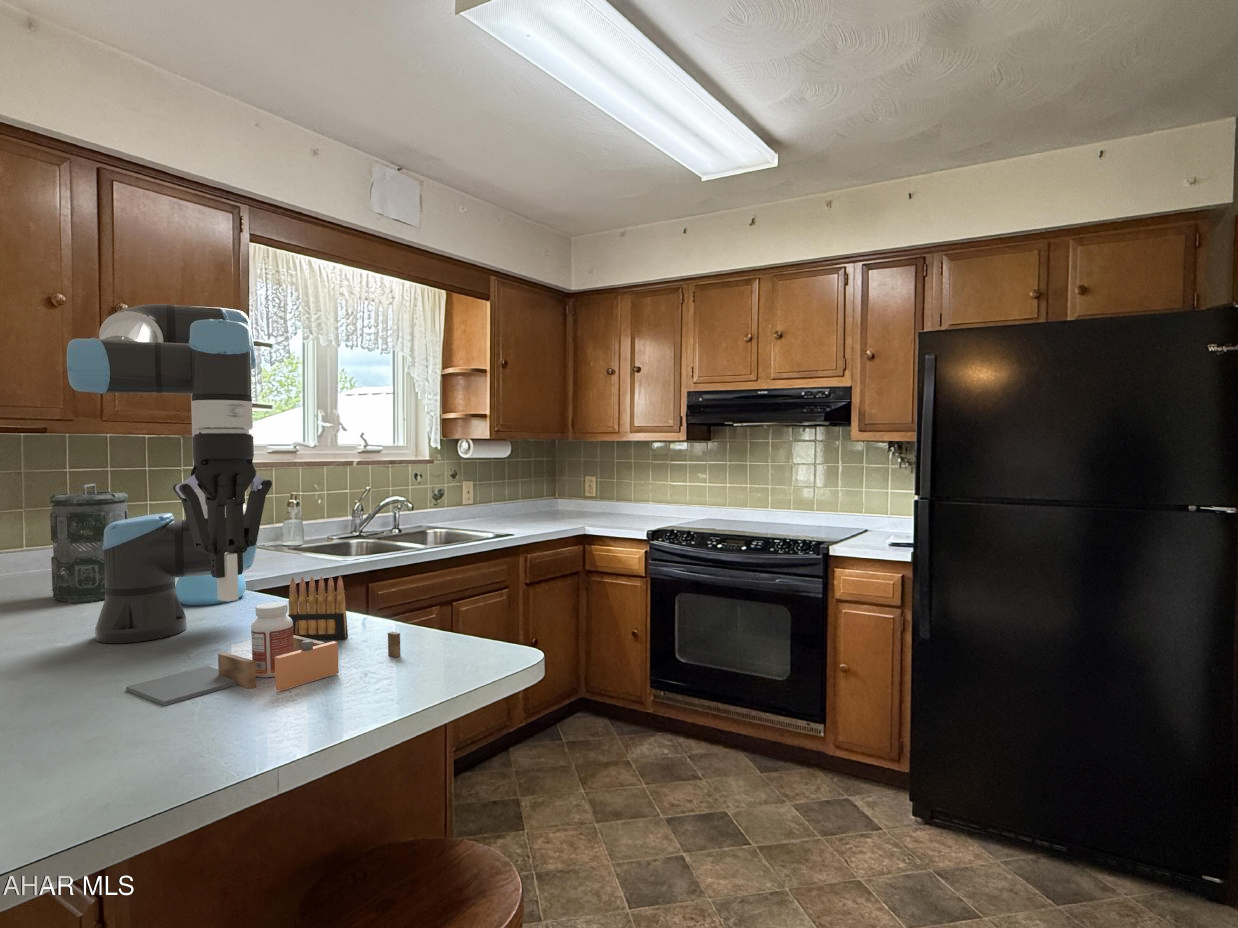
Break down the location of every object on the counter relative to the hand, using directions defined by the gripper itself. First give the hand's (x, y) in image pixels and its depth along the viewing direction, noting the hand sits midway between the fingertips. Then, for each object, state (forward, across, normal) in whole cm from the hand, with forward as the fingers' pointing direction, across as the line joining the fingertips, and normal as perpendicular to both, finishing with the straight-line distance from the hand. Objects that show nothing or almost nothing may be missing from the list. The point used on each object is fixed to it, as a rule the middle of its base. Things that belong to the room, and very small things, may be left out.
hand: (228, 599), depth 102 cm
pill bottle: (+15, +12, +10) cm, 22 cm away
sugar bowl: (+15, +36, +77) cm, 86 cm away
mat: (+15, +1, +15) cm, 21 cm away
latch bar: (+15, +12, 0) cm, 19 cm away
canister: (+15, +22, +106) cm, 109 cm away
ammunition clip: (+15, +28, +22) cm, 39 cm away
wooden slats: (+15, +17, +7) cm, 24 cm away
